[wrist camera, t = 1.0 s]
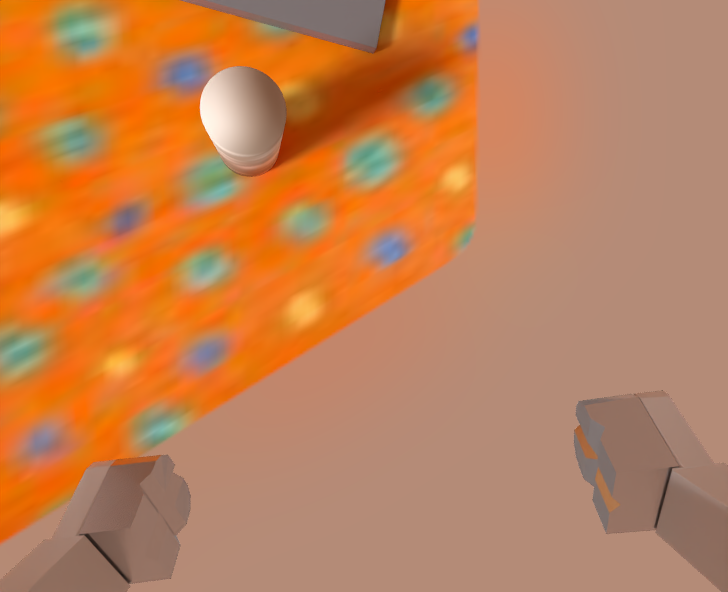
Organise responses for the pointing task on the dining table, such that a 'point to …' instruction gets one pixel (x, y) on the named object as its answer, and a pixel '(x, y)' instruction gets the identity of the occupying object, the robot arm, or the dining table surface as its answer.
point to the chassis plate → (313, 17)
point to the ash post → (244, 119)
